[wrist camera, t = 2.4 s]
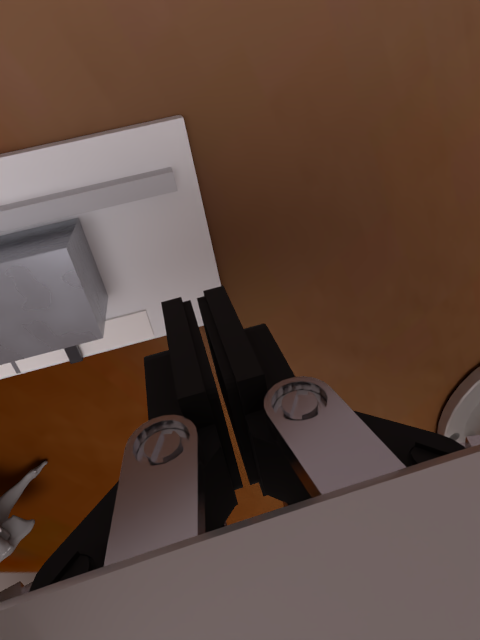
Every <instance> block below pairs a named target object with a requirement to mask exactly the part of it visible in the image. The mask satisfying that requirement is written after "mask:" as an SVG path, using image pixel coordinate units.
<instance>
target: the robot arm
mask: <svg viewBox="0 0 480 640" xmlns="http://www.w3.org/2000/svg"><path fill="white" fill-rule="evenodd" d="M203 293H204V296H203V297H199V298H197V301H198V305H199V309H200V313H201V316H202V320H203V324H204V328H205V332H206V336H207V339H208V343H209V347H210V351H211V355H212V359H213V362H214V366H215V370H216V374H217V378H218V381H219V385H220V388H221V392H222V395H223V398H224V401H225V405H226V408H227V411H228V414H229V417H230V421H231V424H232V427H233V430H234V434H235V437H236V440H237V443H238V447H239V450H240V453H241V456H242V460H243V463H244V466H245V469H246V473H247V476H248V479H249V482H250V485H252V484H255V483H258V482H259V484H260V487H261V490H262V493H263V496H266V495H269V496H271V497H274V498H276V499H278V500H281V501H283V505H284V507H283V508H280V509H277V510H274V511H271V512H268V513H264V514H261V515H258V516H255V517H252V518H249V519H246V520H243V521H240V522H237V523H234V524H231V525H228V526H227V523H226V520H227V518H228V517H229V515H230V513H231V512H232V510H233V509H234V507H235V506H236V505H238V503H237V499H236V495H235V491H234V490H236V489H239V488H242V487H243V485H242V481H241V477H240V474H239V470H238V466H237V462H236V459H235V455H234V451H233V447H232V444H231V440H230V436H229V432H228V429H227V425H226V421H225V417H224V414H223V410H222V406H221V402H220V399H219V395H218V391H217V388H216V384H215V381H214V377H213V374H212V371H211V367H210V364H209V361H208V357H207V354H206V350H205V347H204V344H203V340H202V337H201V334H200V330H199V327H198V323H197V320H196V317H195V313H194V310H193V307H192V303H191V300H188V301H185V302H183V301H182V298H181V297H179V298H175V299H171V300H167V301H164V302H161V305H162V311H163V317H164V323H165V329H166V335H167V341H168V347H169V350H167V351H164V352H160V353H157V354H153V355H149V356H146V357H144V366H145V379H146V392H147V405H148V418H149V421H148V422H146V423H144V424H142V425H141V426H140V427H139V428H138V429H136V430H135V431H134V432H133V434H132V435H131V436H130V438H129V439H128V442H127V444H126V447H125V451H124V457H123V462H122V468H121V473H120V479H119V481H118V482H117V483H116V484H115V486H114V487H113V488H112V489H111V490H110V491H109V492H108V493H107V494H106V496H105V497H104V498H103V499H102V500H101V501H100V502H99V503H98V504H97V506H96V507H95V508H94V509H93V510H92V511H91V512H90V513H89V514H88V515H87V517H86V518H85V519H84V520H83V521H82V522H81V523H80V524H79V525H78V527H77V528H76V529H75V530H74V531H73V532H72V533H71V534H70V535H69V537H68V538H67V539H66V540H65V541H64V542H63V543H62V544H61V545H60V547H59V548H58V549H57V550H56V551H55V552H54V553H53V554H52V555H51V556H50V558H49V559H48V560H47V561H46V562H45V563H44V565H43V566H42V568H41V569H40V570H39V572H38V573H37V574H36V577H35V579H34V581H33V582H31V583H29V584H27V585H26V586H24V585H23V584H22V583H21V582H18V583H16V584H14V585H12V586H10V587H9V588H7V589H5V590H3V591H1V592H0V640H480V366H479V367H478V368H477V369H476V370H474V371H473V372H472V373H471V374H470V375H469V376H468V377H467V378H466V379H465V380H464V381H463V382H462V383H461V384H460V385H459V386H458V388H457V389H456V390H455V392H454V393H453V394H452V396H451V397H450V399H449V400H448V402H447V404H446V406H445V408H444V409H443V412H442V415H441V418H440V421H439V424H438V431H437V433H433V432H430V431H426V430H422V429H419V428H415V427H411V426H408V425H404V424H400V423H397V422H393V421H389V420H385V419H382V418H378V417H374V416H371V415H367V414H363V413H360V412H356V411H353V410H352V409H351V408H350V407H349V406H348V405H347V404H346V403H345V402H344V401H343V400H342V399H341V398H340V397H339V396H338V395H337V393H336V392H335V391H334V390H333V389H332V388H331V387H330V386H328V385H327V384H326V383H324V382H323V381H321V380H318V379H316V378H311V377H304V376H303V377H295V376H294V374H293V372H292V370H291V368H290V367H289V365H288V363H287V361H286V360H285V358H284V356H283V354H282V352H281V351H280V349H279V347H278V345H277V343H276V342H275V340H274V338H273V336H272V335H271V333H270V331H269V329H268V327H267V326H266V324H260V325H257V326H253V327H250V328H246V329H243V327H242V325H241V323H240V321H239V319H238V316H237V314H236V312H235V310H234V308H233V306H232V304H231V301H230V299H229V297H228V295H227V293H226V291H225V288H224V286H220V287H216V288H212V289H209V290H205V291H203Z"/></svg>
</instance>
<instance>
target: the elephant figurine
mask: <svg viewBox="0 0 480 640" xmlns="http://www.w3.org/2000/svg"><path fill="white" fill-rule="evenodd" d="M47 463H48V462H47V461H44V462H43V463H41V464H40V465H39V466H38V467H36V468H34V469H32V470H30V471H29V472H28V473H27V474H26V475H25V476H24V477H23V479H22V480H21V481H20V482H19V483H17V484H16V485H15V486H13V487H12V488H11V489H9V490H8V491H7V492H6V493H4V494H3V495H2V496H1V497H0V562H1V561H2V560H3V559H5V558H6V557H7V556H9V555H10V554H11V553H12V552H13V551H14V549H15V548H16V546H17V544H18V543H19V542H20V540H21V539H22V538H24V537H25V536H26V535H27V534H28V533H29V532H30V531H31V529H32V528H33V526H34V523H35V520H33V519H32V520H24V519H22V518H20V517H17V516H15V515H13V516H12V517H11V518H9V519H8V516H9V513H10V511H11V509H12V508H13V506H14V504H15V503H16V502H17V500H18V499H19V497H20V495H21V494H22V492H23V490H24V489H25V488H26V486H27V485H28V483H29V482H30V481H31V480H32V479H33V478H35V477H36V476H37V475H38V474H39V473H40V471H41V470H42V468H43V467H44V466H45V465H46V464H47Z"/></svg>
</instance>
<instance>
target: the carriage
mask: <svg viewBox="0 0 480 640" xmlns="http://www.w3.org/2000/svg"><path fill="white" fill-rule="evenodd" d="M107 303H108V294H107V292H106V289H105V286H104V284H103V281H102V278H101V276H100V273H99V270H98V268H97V265H96V263H95V260H94V257H93V255H92V252H91V249H90V247H89V244H88V241H87V239H86V236H85V233H84V231H83V228H82V226H81V223H80V220H79V218H74V219H70V220H66V221H61V222H57V223H53V224H49V225H44V226H40V227H36V228H32V229H27V230H23V231H19V232H15V233H11V234H6V235H2V236H0V365H2V364H6V363H10V362H14V361H18V360H22V359H25V358H29V357H33V356H37V355H41V354H45V353H48V352H52V351H56V350H60V349H64V350H65V352H66V354H67V356H68V359H69V361H70V363H71V364H72V363H76V362H79V361H83V355H82V353H81V351H80V349H79V346H78V345H79V344H83V343H87V342H90V341H94V340H98V339H102V338H103V336H104V328H105V319H106V311H107Z"/></svg>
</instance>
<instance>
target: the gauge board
mask: <svg viewBox="0 0 480 640" xmlns="http://www.w3.org/2000/svg"><path fill="white" fill-rule="evenodd" d="M74 218H79V220H80V223H81V226H82V228H83V231H84V233H85V236H86V239H87V241H88V244H89V247H90V249H91V252H92V255H93V257H94V260H95V263H96V265H97V268H98V270H99V273H100V276H101V278H102V281H103V284H104V286H105V289H106V292H107V294H108V303H107V311H106V319H105V328H104V336H103V338H102V339H98V340H94V341H90V342H87V343H83V344H79V345H78V346H79V349H80V351H81V353H82V355H83V357H86V356H90V355H94V354H98V353H101V352H105V351H109V350H113V349H117V348H120V347H124V346H128V345H132V344H135V343H139V342H143V341H147V340H151V339H154V338H158V337H162V336H166V329H165V323H164V317H163V311H162V305H161V302H164V301H167V300H171V299H175V298H179V297H181V298H182V301H183V302H185V301H188V300H191V303H192V307H193V310H194V313H195V317H196V320H197V323H198V327H200V326H204V324H203V320H202V316H201V313H200V309H199V305H198V301H197V298H199V297H203V296H204V293H203V291H205V290H209V289H212V288H216V287H220V286H221V283H220V278H219V274H218V270H217V265H216V261H215V256H214V252H213V247H212V243H211V239H210V234H209V230H208V225H207V221H206V216H205V212H204V207H203V203H202V199H201V194H200V190H199V185H198V181H197V176H196V172H195V167H194V163H193V159H192V154H191V150H190V145H189V141H188V136H187V132H186V127H185V123H184V119H183V117H182V116H181V115H177V116H172V117H167V118H163V119H158V120H154V121H149V122H145V123H140V124H136V125H131V126H126V127H122V128H117V129H113V130H108V131H104V132H99V133H95V134H90V135H85V136H81V137H76V138H72V139H67V140H63V141H58V142H54V143H49V144H45V145H40V146H35V147H31V148H26V149H22V150H17V151H13V152H8V153H4V154H0V236H2V235H6V234H11V233H15V232H19V231H23V230H27V229H32V228H36V227H40V226H44V225H49V224H53V223H57V222H61V221H66V220H70V219H74ZM67 361H69V359H68V356H67V354H66V352H65V350H64V349H60V350H56V351H52V352H48V353H45V354H41V355H37V356H33V357H29V358H25V359H22V360H18V361H14V362H10V363H6V364H2V365H0V379H3V378H7V377H11V376H15V375H18V374H22V373H26V372H30V371H33V370H37V369H41V368H45V367H49V366H52V365H56V364H60V363H64V362H67Z"/></svg>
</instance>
